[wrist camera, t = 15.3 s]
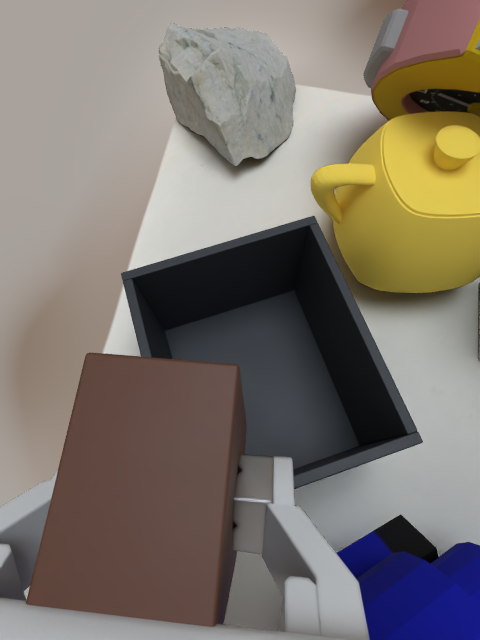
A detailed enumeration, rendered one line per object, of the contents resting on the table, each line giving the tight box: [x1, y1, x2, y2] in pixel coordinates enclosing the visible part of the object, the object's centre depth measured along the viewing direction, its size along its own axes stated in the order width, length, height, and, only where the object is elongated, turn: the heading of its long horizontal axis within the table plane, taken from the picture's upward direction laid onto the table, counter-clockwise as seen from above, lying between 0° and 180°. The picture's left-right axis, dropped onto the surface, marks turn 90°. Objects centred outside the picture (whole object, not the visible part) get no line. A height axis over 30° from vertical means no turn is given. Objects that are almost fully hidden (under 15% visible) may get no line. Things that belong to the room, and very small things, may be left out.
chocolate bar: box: [26, 353, 247, 627], centre depth 11 cm, size 3×5×10 cm, turn 175°
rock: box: [159, 23, 296, 166], centre depth 40 cm, size 15×16×8 cm
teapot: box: [311, 111, 480, 293], centre depth 31 cm, size 13×20×12 cm
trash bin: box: [121, 216, 423, 489], centre depth 27 cm, size 15×13×11 cm
